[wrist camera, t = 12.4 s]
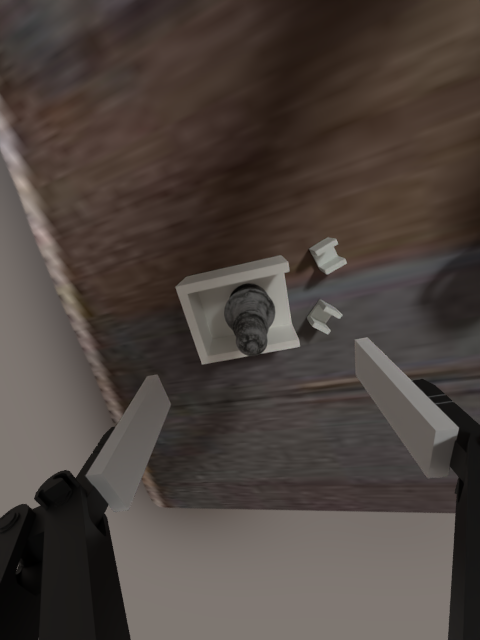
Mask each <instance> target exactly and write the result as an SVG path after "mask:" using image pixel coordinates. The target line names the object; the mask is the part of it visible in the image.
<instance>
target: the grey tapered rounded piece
mask: <svg viewBox="0 0 480 640" xmlns="http://www.w3.org/2000/svg"><path fill="white" fill-rule="evenodd" d="M275 313H276V312H275V306H274V303H273V301H272V299H271V298H270V297H269V296H268V294H267V292H266V291H265V290H264V289H263V288H262V287H260V286H259V285H256V284H250V283H247V284H242V285H240V286H238V287H237V288H236V289H234V290H233V292H232V293H231V295H230V298H229V300H228V301H227V303H226V306H225V309H224V316H225V321H226V323H227V324H228V326H229V327H230V328H231V329H232V330H233V332H234V334H235V336H236V345H237V347H238V349H239V351H240V352H241V353H243V354H245V355H247V356H257V355H259V354H261V353H262V352H263V351H264V350H265V349H266V347H267V342H268V340H267V333H268V330H269V327H270V326H271V325H272V323H273V321H274V319H275Z"/></svg>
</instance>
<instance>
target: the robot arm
mask: <svg viewBox="0 0 480 640" xmlns="http://www.w3.org/2000/svg"><path fill="white" fill-rule="evenodd" d="M355 371H356V376H357V378H358V379H359V380H360V382H361V383H362V385H363V386H364V388H365V389H366V391H367V392H368V393H369V395H370V396H371V398H372V399H373V401H374V402H375V403H376V405H377V406H378V408H379V409H380V411H381V412H382V414H383V415H384V416H385V418H386V419H387V421H388V422H389V424H390V425H391V426H392V428H393V429H394V431H395V432H396V434H397V435H398V437H399V438H400V439H401V441H402V442H403V444H404V445H405V447H406V448H407V449H408V451H409V452H410V454H411V455H412V457H413V458H414V460H415V461H416V462H417V464H418V465H419V467H420V468H421V470H422V471H423V472H424V474H425V475H426V477H427V478H436V477H446V476H448V474H449V470H450V467H451V468H452V469H453V471H454V472H455V473H456V474H457V475H458V477H459V478H458V482H457V485H456V489H455V493H456V494H457V499H456V516H455V533H454V550H453V566H452V583H451V601H450V616H449V632H448V640H480V425H479V424H478V423H477V422H476V421H475V420H473V419H472V418H471V417H470V416H469V415H468V414H467V413H466V412H464V411H463V410H462V409H461V408H460V407H459V406H458V405H457V404H455V403H454V402H452V400H451V399H450V398H449V397H448V396H446V395H445V394H444V393H443V392H442V391H441V390H440V389H439V388H437V387H436V386H435V385H433V384H431V383H429V382H427V381H426V380H424V379H420V380H413V381H411V380H410V379H409V378H408V377H407V376H406V375H405V374H404V373H403V372H402V371H401V370H400V369H399V368H398V367H397V366H396V365H395V364H394V363H393V362H392V361H391V360H390V359H389V358H388V357H387V356H386V355H385V354H384V353H383V352H382V351H381V350H380V349H379V348H378V347H377V346H376V345H375V344H374V343H373V342H372V341H371V340H370V339H369V338H368V337H367V338H361V339H355ZM170 406H171V403H170V401H169V398H168V396H167V394H166V392H165V390H164V388H163V385H162V383H161V381H160V379H159V377H158V374H157V375H151V376H147V377H146V379H145V380H144V382H143V384H142V385H141V387H140V389H139V390H138V392H137V393H136V395H135V397H134V398H133V400H132V401H131V403H130V405H129V406H128V408H127V409H126V411H125V413H124V414H123V416H122V418H121V419H120V421H119V422H118V424H117V426H116V427H112V428H111V429H109V431H107V432H106V433H105V434H104V435H103V437H102V439H101V440H100V442H99V443H98V446H96V448H95V449H94V451H93V454H91V455H90V457H89V458H88V460H87V462H86V463H85V465H84V466H83V468H82V469H81V471H80V472H79V474H78V475H77V477H76V478H75V477H74V476H73V475H72V474H71V473H70V471H67V470H64V471H60V472H58V473H56V474H54V475H53V476H52V477H50V478H49V479H47V480H46V481H45V482H44V483H43V484H42V486H41V487H40V488H39V489H38V491H37V492H36V495H35V498H34V499H35V500H36V501H37V502H38V503H39V504H40V505H41V506H39V507H37V508H34V509H31V508H30V507H29V506H28V505H27V504H21V505H18V506H16V507H14V508H13V509H11V510H10V511H8V512H7V513H6V514H5V515H3V516H2V517H1V518H0V640H38V639H39V640H131V639H130V634H129V629H128V624H127V618H126V613H125V608H124V603H123V598H122V593H121V587H120V582H119V577H118V572H117V566H116V561H115V556H114V551H113V546H112V541H111V535H110V530H109V526H108V520H107V517H106V515H105V514H104V512H105V511H106V509H107V507H108V505H109V506H110V508H111V509H112V510H113V511H114V512H118V511H128V510H129V509H130V506H131V504H132V501H133V499H134V496H135V494H136V491H137V488H138V486H139V484H140V481H141V479H142V476H143V474H144V471H145V469H146V466H147V464H148V461H149V459H150V456H151V454H152V451H153V449H154V446H155V444H156V441H157V439H158V436H159V434H160V431H161V429H162V426H163V424H164V421H165V419H166V416H167V414H168V411H169V408H170ZM18 564H19V566H18ZM17 567H18V569H17Z"/></svg>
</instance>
